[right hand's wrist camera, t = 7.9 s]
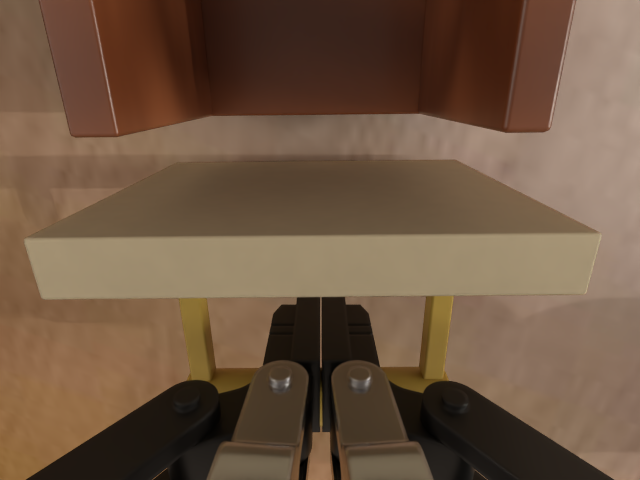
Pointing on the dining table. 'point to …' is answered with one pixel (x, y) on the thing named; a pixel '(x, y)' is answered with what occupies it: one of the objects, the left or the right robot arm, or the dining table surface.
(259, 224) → the drawer
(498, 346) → the dining table surface
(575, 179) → the dining table surface
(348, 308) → the right robot arm
